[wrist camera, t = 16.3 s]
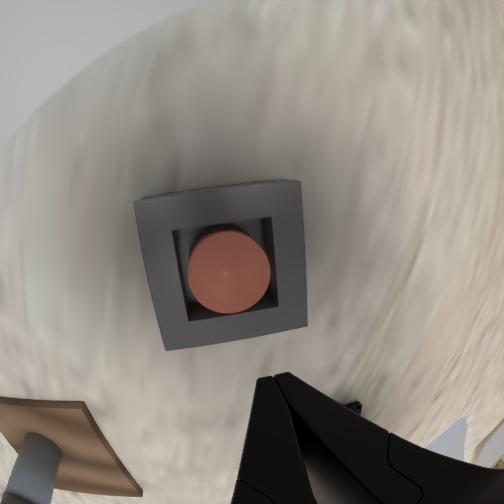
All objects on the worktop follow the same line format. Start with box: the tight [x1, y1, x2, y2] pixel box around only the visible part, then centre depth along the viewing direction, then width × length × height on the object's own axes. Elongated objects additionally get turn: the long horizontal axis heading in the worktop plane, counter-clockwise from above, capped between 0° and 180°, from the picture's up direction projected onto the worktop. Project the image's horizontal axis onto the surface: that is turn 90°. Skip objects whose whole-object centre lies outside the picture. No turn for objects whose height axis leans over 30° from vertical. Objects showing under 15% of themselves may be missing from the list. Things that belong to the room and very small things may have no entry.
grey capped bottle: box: [0, 433, 62, 504], centre depth 14 cm, size 5×5×11 cm
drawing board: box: [0, 397, 143, 497], centre depth 21 cm, size 16×14×1 cm
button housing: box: [134, 179, 308, 351], centre depth 18 cm, size 9×9×3 cm
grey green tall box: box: [494, 459, 504, 469], centre depth 61 cm, size 7×4×10 cm, turn 176°
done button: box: [188, 225, 270, 313], centre depth 17 cm, size 4×4×3 cm
